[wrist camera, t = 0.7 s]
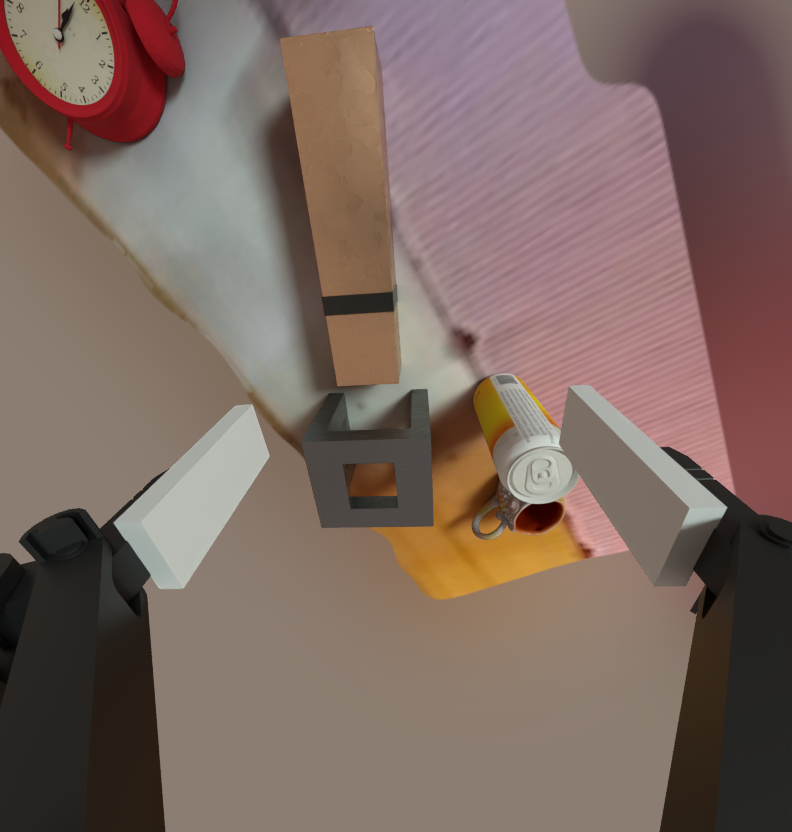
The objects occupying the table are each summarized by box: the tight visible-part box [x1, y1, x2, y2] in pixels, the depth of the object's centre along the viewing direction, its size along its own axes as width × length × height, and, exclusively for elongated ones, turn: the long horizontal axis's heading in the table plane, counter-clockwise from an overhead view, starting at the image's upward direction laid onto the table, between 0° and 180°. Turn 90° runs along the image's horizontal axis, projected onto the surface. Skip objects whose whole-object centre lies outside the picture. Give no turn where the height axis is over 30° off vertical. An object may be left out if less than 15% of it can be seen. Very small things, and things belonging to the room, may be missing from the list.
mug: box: [472, 480, 565, 540], centre depth 42 cm, size 12×7×7 cm, turn 128°
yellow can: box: [473, 373, 580, 504], centre depth 32 cm, size 6×6×15 cm
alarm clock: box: [0, 0, 185, 151], centre depth 24 cm, size 10×6×15 cm
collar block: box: [301, 389, 434, 528], centre depth 36 cm, size 10×12×11 cm
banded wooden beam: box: [280, 26, 401, 386], centre depth 29 cm, size 24×6×6 cm, turn 4°
